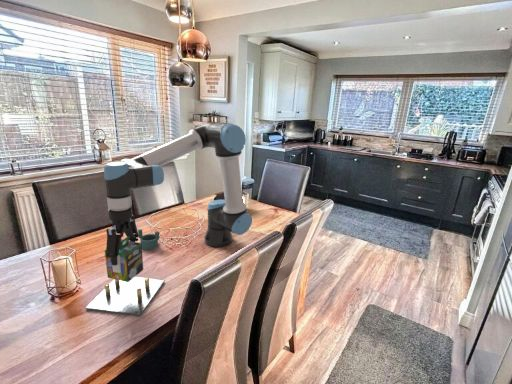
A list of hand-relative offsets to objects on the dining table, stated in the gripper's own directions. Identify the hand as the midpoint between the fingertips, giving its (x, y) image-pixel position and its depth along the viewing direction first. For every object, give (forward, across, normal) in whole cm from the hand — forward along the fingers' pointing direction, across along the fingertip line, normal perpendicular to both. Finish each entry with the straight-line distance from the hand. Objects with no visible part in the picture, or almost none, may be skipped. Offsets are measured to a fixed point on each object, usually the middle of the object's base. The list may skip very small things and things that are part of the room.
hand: (125, 264), depth 103 cm
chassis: (+14, 0, 0) cm, 14 cm away
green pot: (+14, -38, -10) cm, 42 cm away
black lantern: (+14, -102, +18) cm, 105 cm away
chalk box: (+4, 0, 0) cm, 4 cm away
